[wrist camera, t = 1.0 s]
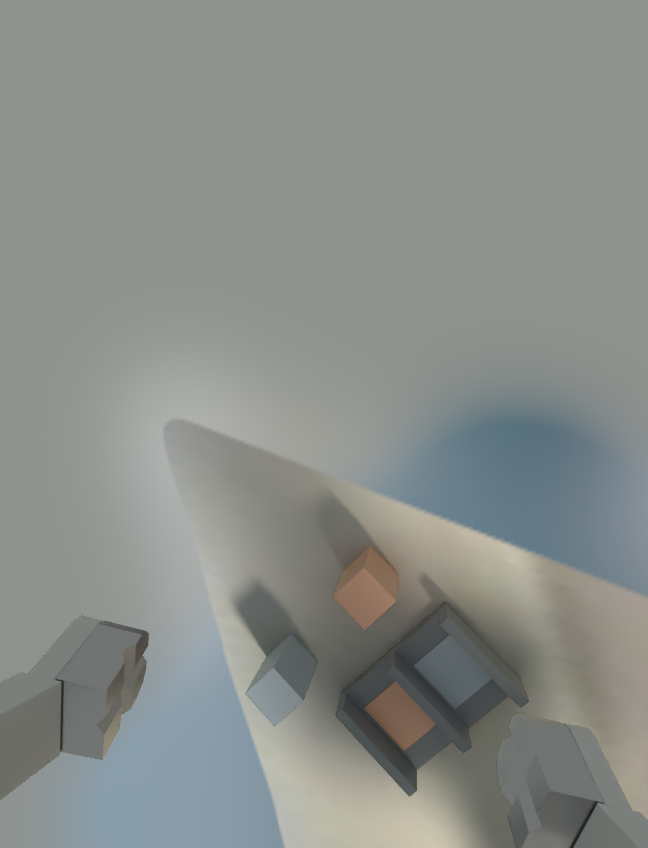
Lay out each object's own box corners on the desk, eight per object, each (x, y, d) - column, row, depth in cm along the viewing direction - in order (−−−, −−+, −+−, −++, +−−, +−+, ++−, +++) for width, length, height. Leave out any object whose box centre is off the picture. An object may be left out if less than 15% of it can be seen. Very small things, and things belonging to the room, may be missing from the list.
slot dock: (520, 678, 45) (529, 701, 41) (409, 767, 47) (409, 796, 44) (445, 601, 46) (448, 617, 42) (340, 693, 48) (335, 715, 45)
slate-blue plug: (317, 661, 49) (303, 700, 42) (292, 684, 49) (274, 726, 43) (291, 633, 49) (273, 667, 43) (266, 656, 50) (244, 693, 43)
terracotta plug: (398, 574, 47) (396, 601, 40) (370, 599, 47) (364, 630, 41) (370, 545, 47) (363, 567, 41) (343, 570, 48) (332, 597, 41)
